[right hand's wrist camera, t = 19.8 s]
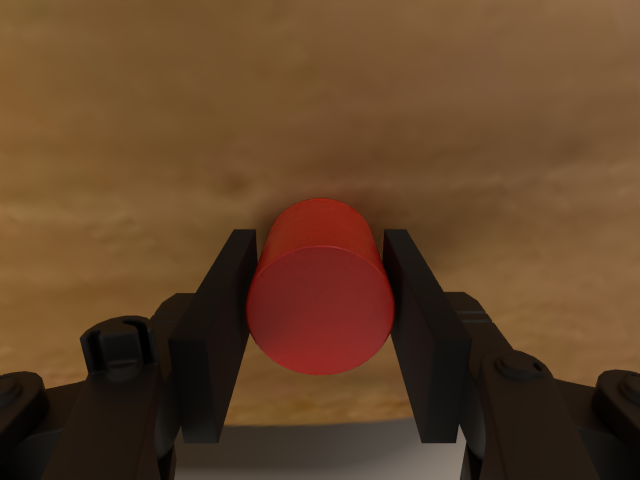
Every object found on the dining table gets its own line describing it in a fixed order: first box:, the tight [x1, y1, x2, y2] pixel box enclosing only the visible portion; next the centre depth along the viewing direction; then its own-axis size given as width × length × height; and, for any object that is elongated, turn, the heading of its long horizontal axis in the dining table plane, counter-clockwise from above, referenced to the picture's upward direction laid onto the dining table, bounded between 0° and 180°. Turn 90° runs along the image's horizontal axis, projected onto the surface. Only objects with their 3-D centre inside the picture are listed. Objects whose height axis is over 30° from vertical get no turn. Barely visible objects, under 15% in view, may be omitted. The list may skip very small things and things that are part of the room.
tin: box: [245, 198, 395, 375], centre depth 13 cm, size 4×4×5 cm
